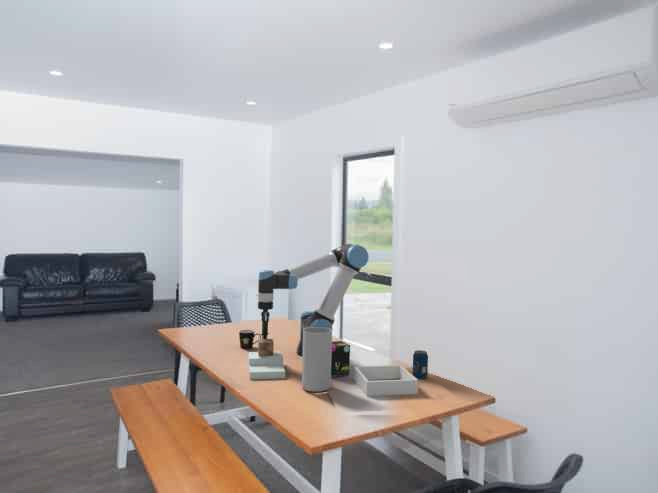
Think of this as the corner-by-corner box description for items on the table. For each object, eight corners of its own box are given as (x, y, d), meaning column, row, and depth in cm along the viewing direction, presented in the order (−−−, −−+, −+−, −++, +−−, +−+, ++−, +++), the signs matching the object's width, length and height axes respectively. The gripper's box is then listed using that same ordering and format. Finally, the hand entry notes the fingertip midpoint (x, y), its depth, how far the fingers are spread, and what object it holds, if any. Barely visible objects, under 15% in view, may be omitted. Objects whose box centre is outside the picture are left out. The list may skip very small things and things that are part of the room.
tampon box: (329, 378, 221) (330, 346, 220) (320, 372, 229) (321, 342, 229) (349, 375, 226) (350, 344, 225) (340, 370, 234) (341, 340, 234)
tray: (399, 377, 224) (400, 365, 224) (417, 394, 203) (418, 380, 202) (353, 379, 220) (353, 366, 220) (366, 396, 198) (366, 381, 198)
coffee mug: (235, 349, 267) (235, 331, 267) (243, 346, 275) (244, 329, 275) (253, 352, 263) (254, 334, 263) (261, 348, 271) (262, 331, 271)
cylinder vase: (320, 394, 199) (322, 334, 198) (295, 388, 206) (297, 330, 205) (336, 386, 210) (337, 329, 209) (312, 381, 216) (313, 325, 215)
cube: (272, 352, 238) (272, 338, 238) (273, 356, 231) (273, 342, 231) (257, 353, 237) (258, 339, 236) (258, 357, 230) (258, 342, 230)
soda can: (409, 375, 228) (410, 350, 228) (422, 374, 231) (423, 349, 230) (417, 380, 222) (418, 354, 221) (430, 378, 224) (431, 353, 224)
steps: (280, 364, 242) (280, 351, 241) (285, 378, 219) (285, 364, 219) (248, 364, 239) (248, 352, 238) (249, 379, 216) (249, 365, 216)
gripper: (257, 299, 246) (256, 344, 247) (258, 303, 233) (257, 351, 234) (272, 299, 247) (271, 344, 248) (274, 303, 235) (272, 350, 235)
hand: (264, 347), depth 241 cm, fingers closed
